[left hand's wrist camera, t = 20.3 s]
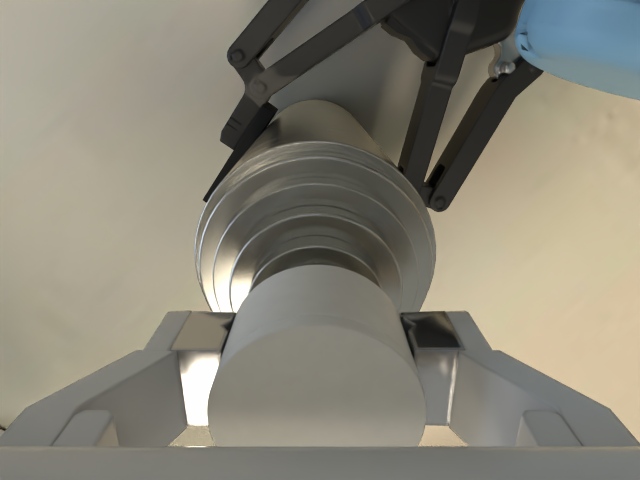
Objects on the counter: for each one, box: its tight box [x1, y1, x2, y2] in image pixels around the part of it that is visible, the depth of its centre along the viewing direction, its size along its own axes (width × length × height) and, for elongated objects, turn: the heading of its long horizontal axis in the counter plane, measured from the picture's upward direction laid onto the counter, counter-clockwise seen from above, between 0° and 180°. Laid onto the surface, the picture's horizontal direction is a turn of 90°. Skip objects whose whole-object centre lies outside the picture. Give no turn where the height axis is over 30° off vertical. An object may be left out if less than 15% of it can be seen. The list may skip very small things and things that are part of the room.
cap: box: [207, 265, 427, 446], centre depth 9 cm, size 4×4×2 cm
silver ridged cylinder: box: [194, 99, 436, 314], centre depth 20 cm, size 8×8×26 cm
